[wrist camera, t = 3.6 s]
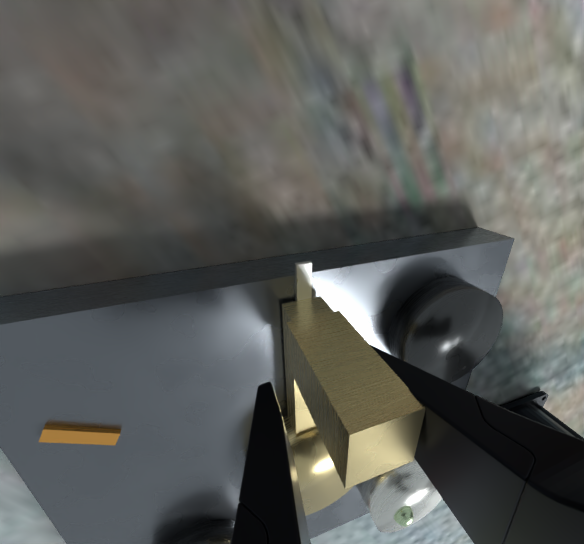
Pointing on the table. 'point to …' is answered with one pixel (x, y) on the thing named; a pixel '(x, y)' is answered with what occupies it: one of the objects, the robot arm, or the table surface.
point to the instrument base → (219, 380)
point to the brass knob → (341, 405)
